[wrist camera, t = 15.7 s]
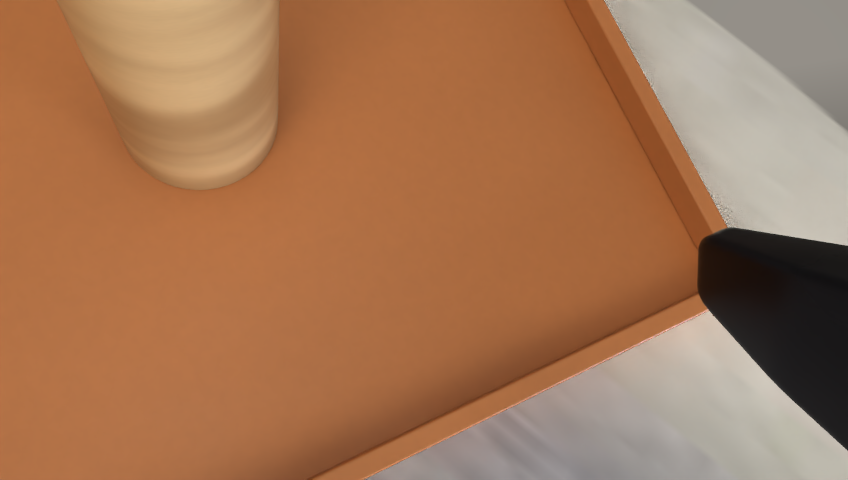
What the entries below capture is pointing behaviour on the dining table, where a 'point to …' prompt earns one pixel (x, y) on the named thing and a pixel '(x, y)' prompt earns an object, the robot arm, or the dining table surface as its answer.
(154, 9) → the disc
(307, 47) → the tray
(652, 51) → the dining table surface
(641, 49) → the dining table surface
